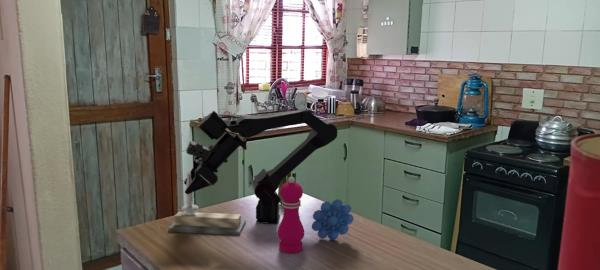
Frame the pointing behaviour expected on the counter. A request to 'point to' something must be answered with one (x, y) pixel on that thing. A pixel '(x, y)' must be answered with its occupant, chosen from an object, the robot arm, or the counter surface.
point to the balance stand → (208, 223)
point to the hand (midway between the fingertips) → (185, 188)
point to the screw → (189, 200)
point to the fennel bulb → (285, 182)
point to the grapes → (332, 219)
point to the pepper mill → (291, 218)
